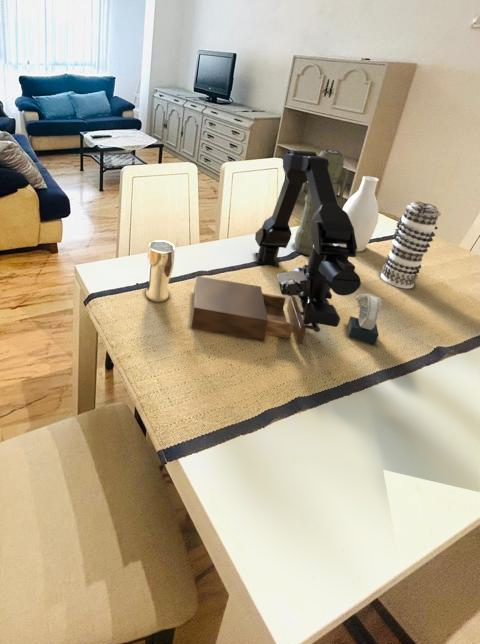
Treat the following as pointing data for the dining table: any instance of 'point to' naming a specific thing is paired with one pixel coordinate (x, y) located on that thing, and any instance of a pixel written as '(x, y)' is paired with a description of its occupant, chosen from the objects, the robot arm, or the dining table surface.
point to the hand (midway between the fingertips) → (305, 323)
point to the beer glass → (159, 269)
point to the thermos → (304, 230)
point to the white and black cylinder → (410, 244)
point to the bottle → (363, 212)
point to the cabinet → (229, 308)
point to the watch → (365, 319)
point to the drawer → (278, 321)
